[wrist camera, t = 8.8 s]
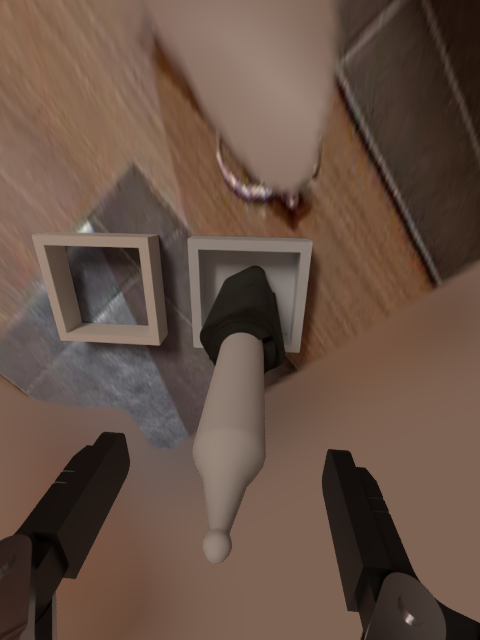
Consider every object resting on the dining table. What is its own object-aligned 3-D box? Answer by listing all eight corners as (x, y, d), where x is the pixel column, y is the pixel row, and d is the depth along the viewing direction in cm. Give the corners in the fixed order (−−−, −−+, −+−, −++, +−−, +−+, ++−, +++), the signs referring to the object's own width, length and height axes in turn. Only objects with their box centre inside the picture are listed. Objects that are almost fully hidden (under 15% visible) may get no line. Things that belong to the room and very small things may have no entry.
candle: (279, 302, 31) (335, 594, 8) (239, 319, 32) (185, 617, 9) (260, 261, 29) (259, 481, 6) (219, 281, 30) (88, 528, 7)
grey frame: (52, 231, 30) (31, 234, 27) (158, 234, 29) (147, 237, 26) (76, 329, 35) (60, 340, 32) (168, 334, 34) (159, 345, 31)
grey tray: (194, 235, 29) (187, 238, 26) (307, 238, 28) (312, 242, 25) (199, 335, 34) (193, 347, 31) (296, 340, 33) (299, 352, 30)
